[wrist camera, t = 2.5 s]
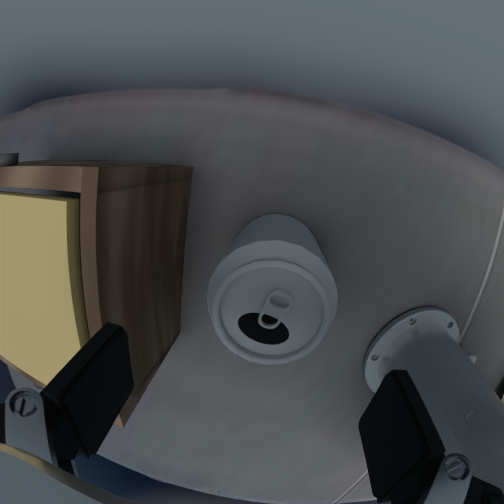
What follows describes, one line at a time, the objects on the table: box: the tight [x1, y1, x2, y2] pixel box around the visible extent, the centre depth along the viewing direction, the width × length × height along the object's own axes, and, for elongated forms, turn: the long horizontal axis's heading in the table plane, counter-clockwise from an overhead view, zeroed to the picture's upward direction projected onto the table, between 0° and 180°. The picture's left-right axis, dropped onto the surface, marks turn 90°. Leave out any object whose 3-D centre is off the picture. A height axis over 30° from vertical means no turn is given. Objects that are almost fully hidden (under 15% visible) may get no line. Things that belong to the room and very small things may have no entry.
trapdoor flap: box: [0, 191, 90, 385], centre depth 13 cm, size 16×14×1 cm
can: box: [206, 214, 338, 365], centre depth 20 cm, size 8×8×12 cm
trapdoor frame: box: [0, 153, 193, 428], centre depth 20 cm, size 19×19×14 cm
